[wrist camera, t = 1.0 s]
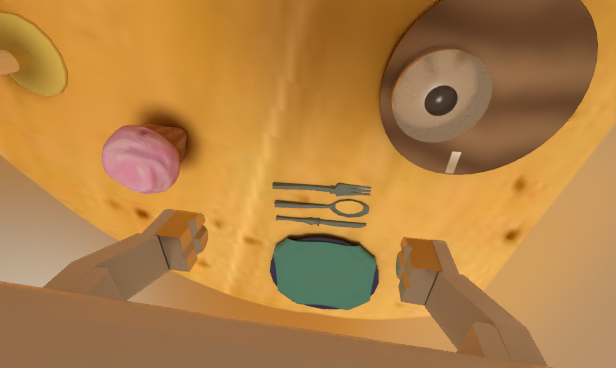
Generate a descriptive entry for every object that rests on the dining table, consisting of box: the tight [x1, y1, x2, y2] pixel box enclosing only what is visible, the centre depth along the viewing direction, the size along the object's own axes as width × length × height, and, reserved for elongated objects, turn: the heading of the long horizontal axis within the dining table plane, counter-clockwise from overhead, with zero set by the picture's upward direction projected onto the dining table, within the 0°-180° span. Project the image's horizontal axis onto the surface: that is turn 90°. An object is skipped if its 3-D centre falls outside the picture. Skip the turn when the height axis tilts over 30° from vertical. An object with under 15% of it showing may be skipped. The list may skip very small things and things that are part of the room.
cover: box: [390, 46, 492, 142], centre depth 28 cm, size 9×9×3 cm
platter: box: [380, 0, 598, 175], centre depth 29 cm, size 20×20×1 cm
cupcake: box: [102, 124, 187, 194], centre depth 35 cm, size 9×9×10 cm
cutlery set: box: [270, 182, 379, 310], centre depth 48 cm, size 20×30×2 cm, turn 0°
